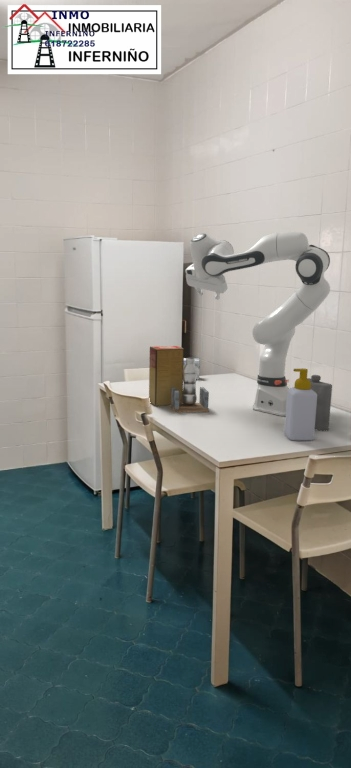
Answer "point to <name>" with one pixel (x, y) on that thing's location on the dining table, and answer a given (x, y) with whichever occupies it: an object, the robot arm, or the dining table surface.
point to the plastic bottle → (189, 382)
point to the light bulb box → (197, 364)
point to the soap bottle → (301, 409)
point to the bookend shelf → (196, 407)
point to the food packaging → (165, 374)
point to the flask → (321, 402)
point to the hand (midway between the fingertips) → (209, 296)
